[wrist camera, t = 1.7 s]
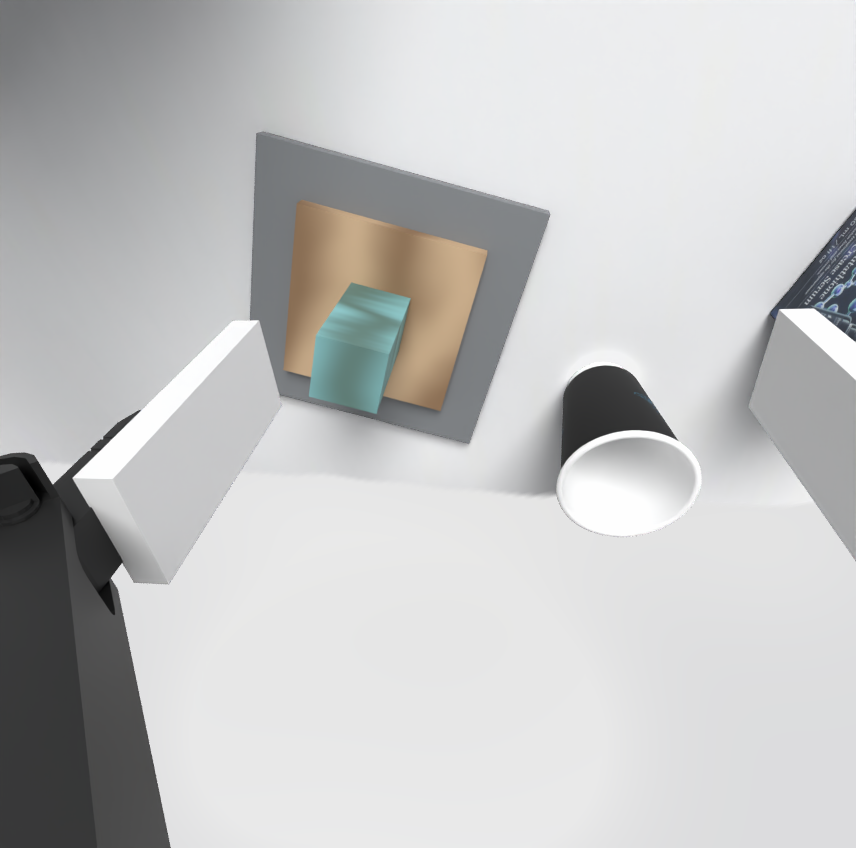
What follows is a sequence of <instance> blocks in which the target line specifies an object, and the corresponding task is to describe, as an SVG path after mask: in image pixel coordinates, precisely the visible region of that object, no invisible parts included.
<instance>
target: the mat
mask: <svg viewBox="0 0 856 848" xmlns="http://www.w3.org/2000/svg"><path fill="white" fill-rule="evenodd" d="M301 200H305V201H308V202H312V203H316V204H319V205H323V206H327V207H330V208H334V209H338V210H341V211H345V212H349V213H352V214H356V215H360V216H363V217H367V218H371V219H374V220H378V221H382V222H385V223H389V224H393V225H396V226H400V227H404V228H407V229H411V230H415V231H418V232H422V233H426V234H429V235H433V236H436V237H440V238H444V239H447V240H451V241H455V242H458V243H462V244H466V245H469V246H473V247H477V248H480V249H484V250H487V257H486V261H485V264H484V267H483V271H482V274H481V277H480V281H479V284H478V287H477V291H476V294H475V297H474V301H473V304H472V307H471V311H470V314H469V317H468V321H467V324H466V327H465V331H464V334H463V337H462V341H461V344H460V347H459V351H458V354H457V357H456V361H455V364H454V367H453V371H452V374H451V377H450V381H449V384H448V387H447V391H446V394H445V397H444V401H443V404H442V407H441V411H439V410H435V409H431V408H427V407H423V406H419V405H416V404H412V403H408V402H404V401H400V400H396V399H393V398H389V397H385V396H383V397H382V400H381V403H380V405H379V408H378V411H377V414H374V413H370V412H367V411H363V410H359V409H355V408H351V407H347V406H344V405H340V404H336V403H332V402H328V401H324V400H320V399H317V398H313V397H309V391H310V382H311V377H308V376H305V375H301V374H297V373H293V372H289V371H285V370H283V368H284V356H285V343H286V331H287V318H288V306H289V293H290V281H291V268H292V256H293V243H294V231H295V218H296V206H297V203H298V202H299V201H301ZM549 217H550V213H549V211H547V210H544V209H540V208H537V207H533V206H529V205H526V204H522V203H519V202H515V201H511V200H508V199H504V198H501V197H497V196H493V195H490V194H486V193H483V192H479V191H475V190H472V189H468V188H465V187H461V186H457V185H454V184H450V183H446V182H443V181H439V180H436V179H432V178H428V177H425V176H421V175H418V174H414V173H410V172H407V171H403V170H400V169H396V168H392V167H389V166H385V165H382V164H378V163H374V162H371V161H367V160H364V159H360V158H356V157H353V156H349V155H346V154H342V153H338V152H335V151H331V150H328V149H324V148H320V147H317V146H313V145H310V144H306V143H302V142H299V141H295V140H292V139H288V138H284V137H281V136H277V135H274V134H270V133H266V132H260V133H257V134H256V162H255V191H254V220H253V249H252V278H251V307H250V320H259V322H260V326H261V329H262V333H263V337H264V340H265V344H266V348H267V351H268V355H269V359H270V363H271V366H272V370H273V374H274V377H275V381H276V385H277V388H278V392H279V395H283V396H287V397H291V398H295V399H299V400H303V401H306V402H310V403H314V404H318V405H322V406H326V407H330V408H333V409H337V410H341V411H345V412H349V413H353V414H357V415H360V416H364V417H368V418H372V419H376V420H380V421H384V422H387V423H391V424H395V425H399V426H403V427H407V428H411V429H414V430H418V431H422V432H426V433H430V434H434V435H438V436H441V437H445V438H449V439H453V440H457V441H461V442H465V443H468V444H469V442H470V440H471V437H472V434H473V431H474V428H475V425H476V423H477V420H478V417H479V414H480V411H481V409H482V406H483V403H484V400H485V397H486V394H487V392H488V389H489V386H490V383H491V380H492V377H493V375H494V372H495V369H496V366H497V363H498V361H499V358H500V355H501V352H502V349H503V346H504V344H505V341H506V338H507V335H508V332H509V330H510V327H511V324H512V321H513V318H514V315H515V313H516V310H517V307H518V304H519V301H520V299H521V296H522V293H523V290H524V287H525V284H526V282H527V279H528V276H529V273H530V270H531V268H532V265H533V262H534V259H535V256H536V253H537V251H538V248H539V245H540V242H541V239H542V236H543V234H544V231H545V228H546V225H547V222H548V220H549Z"/></svg>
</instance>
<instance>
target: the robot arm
mask: <svg viewBox="0 0 856 848" xmlns="http://www.w3.org/2000/svg"><path fill="white" fill-rule="evenodd" d="M281 406H282V403H281V400H280V396H279V392H278V388H277V385H276V381H275V377H274V374H273V370H272V366H271V363H270V359H269V355H268V351H267V348H266V344H265V340H264V337H263V333H262V329H261V326H260V322H259V320H250V321H232V322H231V323H230V324H229V325H228V326H227V327H226V328H225V329H224V330H223V331H222V332H221V333H220V334H219V335H218V336H217V337H216V338H215V339H214V340H213V341H212V342H211V343H210V344H209V345H208V346H207V347H206V348H205V349H204V350H202V351H201V352H200V353H199V354H198V355H197V356H196V357H195V358H194V359H193V360H192V361H191V362H190V363H189V364H188V365H187V366H186V367H185V368H184V369H183V370H182V371H181V372H180V373H179V374H178V375H177V376H176V377H175V378H174V379H173V380H172V381H171V382H170V383H169V384H168V385H167V386H166V387H165V388H164V389H163V390H162V391H161V392H160V393H159V394H158V395H157V396H156V397H155V398H154V399H153V400H152V401H150V402H149V403H148V404H147V405H146V406H145V407H144V408H143V409H142V410H139V411H137V412H135V413H134V414H132V415H130V416H128V417H127V418H125V419H123V420H122V421H120V422H118V423H117V424H116V425H115V426H114V427H113V428H112V429H111V430H110V431H109V432H108V433H107V434H106V435H105V436H104V437H103V440H99V441H98V442H97V443H96V444H95V445H94V446H93V447H92V448H91V451H88V452H87V453H86V454H85V455H84V456H83V457H81V458H80V459H79V460H78V461H77V462H76V463H75V464H74V465H73V466H72V467H71V468H70V469H69V470H68V471H67V472H66V473H65V474H64V475H63V476H62V477H61V478H60V479H58V480H57V481H56V482H55V483H54V484H53V485H52V483H51V481H50V480H49V478H48V477H47V475H46V473H45V472H44V470H43V469H42V467H41V465H40V464H39V462H38V461H37V459H36V457H35V456H34V455H31V454H28V453H11V454H7V455H3V456H0V848H171V847H170V842H169V838H168V833H167V828H166V823H165V818H164V813H163V808H162V804H161V798H160V794H159V789H158V784H157V779H156V774H155V769H154V764H153V759H152V755H151V750H150V745H149V740H148V735H147V730H146V725H145V721H144V715H143V711H142V705H141V701H140V696H139V691H138V686H137V682H136V676H135V671H134V666H133V662H132V657H131V652H130V647H129V642H128V637H127V632H126V627H125V622H124V617H123V613H122V608H121V603H120V598H119V593H118V589H117V587H116V586H115V584H114V583H113V581H112V579H111V577H112V575H113V574H114V573H115V571H116V570H117V569H118V567H119V566H120V565H121V563H123V565H124V566H125V568H126V570H127V571H128V573H129V575H130V577H131V578H132V580H133V582H134V583H153V584H169V583H170V582H171V580H172V579H173V577H174V576H175V574H176V572H177V571H178V569H179V568H180V566H181V564H182V563H183V561H184V560H185V558H186V556H187V555H188V553H189V552H190V550H191V548H192V547H193V545H194V544H195V542H196V541H197V539H198V538H199V536H200V534H201V533H202V531H203V530H204V528H205V527H206V525H207V523H208V522H209V520H210V518H211V517H212V515H213V514H214V512H215V511H216V509H217V508H218V506H219V504H220V503H221V501H222V500H223V498H224V496H225V495H226V493H227V492H228V490H229V489H230V487H231V485H232V484H233V482H234V481H235V479H236V478H237V476H238V474H239V473H240V471H241V470H242V468H243V466H244V465H245V463H246V462H247V460H248V459H249V457H250V455H251V454H252V452H253V451H254V449H255V447H256V446H257V444H258V443H259V441H260V440H261V438H262V436H263V435H264V433H265V432H266V430H267V428H268V427H269V425H270V424H271V422H272V421H273V419H274V417H275V416H276V414H277V413H278V411H279V410H280V408H281ZM748 407H749V408H750V410H751V411H752V413H753V414H754V416H755V417H756V418H757V420H758V421H759V423H760V424H761V426H762V427H763V429H764V430H765V431H766V433H767V434H768V436H769V437H770V439H771V440H772V441H773V443H774V444H775V446H776V447H777V449H778V450H779V451H780V453H781V454H782V456H783V457H784V459H785V460H786V462H787V463H788V464H789V466H790V467H791V469H792V470H793V472H794V473H795V474H796V476H797V477H798V479H799V480H800V482H801V483H802V485H803V486H804V487H805V489H806V490H807V492H808V493H809V495H810V496H811V497H812V499H813V500H814V502H815V503H816V505H817V506H818V508H819V509H820V510H821V512H822V513H823V514H824V516H825V518H826V519H827V520H828V522H829V523H830V525H831V526H832V528H833V529H834V530H835V532H836V533H837V535H838V536H839V538H840V539H841V541H842V542H843V543H844V545H845V546H846V548H847V549H848V551H849V552H850V553H851V555H852V556H853V558H854V559H855V561H856V342H854V341H853V340H852V339H851V338H850V337H848V336H847V335H846V334H845V333H843V332H842V331H841V330H840V329H839V328H837V327H836V326H835V325H834V324H832V323H831V322H830V321H829V320H827V319H826V318H825V317H824V316H823V315H821V314H820V313H819V312H818V311H816V310H815V309H779V311H778V314H777V317H776V321H775V324H774V327H773V330H772V333H771V336H770V339H769V342H768V346H767V349H766V352H765V355H764V358H763V361H762V364H761V368H760V371H759V374H758V377H757V380H756V383H755V386H754V389H753V393H752V396H751V399H750V402H749V405H748Z"/></svg>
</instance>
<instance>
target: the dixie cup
mask: <svg viewBox="0 0 856 848" xmlns="http://www.w3.org/2000/svg"><path fill="white" fill-rule="evenodd" d="M701 482H702V475H701V469H700V466H699V463H698V461H697V459H696V458H695V456H694V455H693V454H692V452H691V451H690V450H689V449H688V448H687V447H685V446H684V445H683V444H682V443H680V442H679V441H678V440H677V438H676V437H675V435H674V434H673V432H672V431H671V429H670V428H669V426H668V425H667V423H666V422H665V420H664V419H663V418H662V416H661V415H660V413H659V412H658V410H657V409H656V407H655V406H654V404H653V403H652V401H651V400H650V398H649V397H648V395H647V394H646V393H645V391H644V390H643V388H642V387H641V385H640V384H639V382H638V381H637V379H636V378H635V377H634V376H633V375H632V374H631V373H630V372H628V371H627V370H625V369H624V368H622V367H621V366H619V365H617V364H614V363H609V362H597V363H593V364H589V365H587V366H585V367H583V368H581V369H580V370H578V371H577V372H576V373H575V374H574V375H573V376H572V378H571V379H570V381H569V383H568V386H567V388H566V390H565V393H564V397H563V424H562V455H561V471H560V473H559V476H558V479H557V484H556V494H557V499H558V501H559V504H560V506H561V508H562V510H563V511H564V513H565V514H566V515H567V516H568V517H569V518H570V519H571V520H572V521H573V522H574V523H576V524H577V525H579V526H580V527H582V528H584V529H586V530H589V531H591V532H594V533H597V534H601V535H607V536H614V537H630V536H638V535H643V534H647V533H651V532H654V531H657V530H659V529H662V528H664V527H666V526H668V525H670V524H672V523H673V522H675V521H676V520H678V519H679V518H680V517H682V516H683V515H684V514H685V513H686V512H687V511H688V510H689V509H690V508H691V506H692V505H693V504H694V502H695V501H696V499H697V497H698V494H699V492H700V488H701Z"/></svg>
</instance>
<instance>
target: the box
mask: <svg viewBox="0 0 856 848" xmlns="http://www.w3.org/2000/svg"><path fill="white" fill-rule="evenodd" d="M779 309H815V310H816V311H818V312H819V313H820V314H821V315H823V316H824V317H825V318H826V319H827V320H829V321H830V322H831V323H832V324H834V325H835V326H836V327H837V328H839V329H840V330H841V331H842V332H843V333H845V334H846V335H847V336H848V337H850V338H851V339H852V340H853V341H854V342H856V210H855V212H854V213H853V214H852V215H851V217H850V218H849V219H848V220H847V221H846V222H845V224H844V225H843V226H842V227H841V228H840V230H839V231H838V232H837V233H836V235H835V236H834V237H833V238H832V240H831V241H830V242H829V243H828V244H827V246H826V247H825V248H824V249H823V251H822V252H821V253H820V254H819V255H818V257H817V258H816V259H815V260H814V261H813V263H812V264H811V265H810V266H809V268H808V269H807V270H806V271H805V273H804V274H803V275H802V276H801V277H800V278H799V280H798V281H797V282H796V283H795V284H794V286H793V287H792V288H791V289H790V291H789V292H788V293H787V294H786V295H785V296H784V298H783V299H782V300H781V301H780V302H779V303H778V304H777V306H776V307H775V308H774V309H773V310H772V312H771V316H772V317H773V318H774V319H775V320H776V317H777V314H778V311H779Z"/></svg>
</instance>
